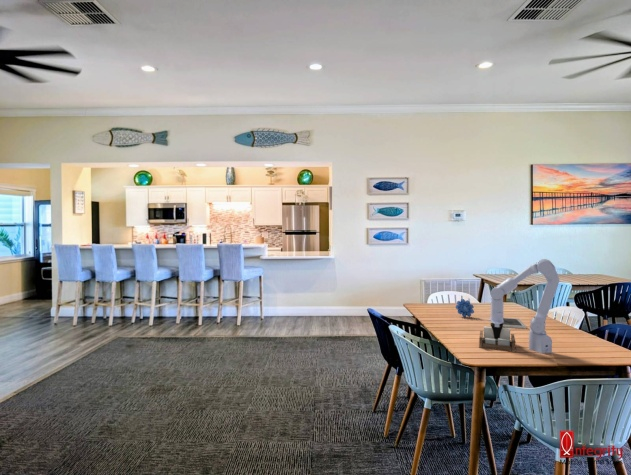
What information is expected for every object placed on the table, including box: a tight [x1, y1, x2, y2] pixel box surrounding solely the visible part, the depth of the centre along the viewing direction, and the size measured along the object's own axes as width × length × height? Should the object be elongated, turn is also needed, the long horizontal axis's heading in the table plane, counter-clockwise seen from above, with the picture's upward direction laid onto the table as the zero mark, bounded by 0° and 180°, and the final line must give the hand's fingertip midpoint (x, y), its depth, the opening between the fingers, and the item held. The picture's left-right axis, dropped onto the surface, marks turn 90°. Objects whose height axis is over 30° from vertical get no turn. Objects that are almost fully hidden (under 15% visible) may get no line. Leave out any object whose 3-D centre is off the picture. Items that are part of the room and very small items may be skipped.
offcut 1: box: [485, 338, 495, 344], centre depth 194 cm, size 2×4×4 cm, turn 66°
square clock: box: [503, 317, 527, 330], centre depth 245 cm, size 16×3×21 cm
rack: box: [478, 330, 516, 353], centre depth 201 cm, size 24×16×6 cm, turn 156°
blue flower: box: [455, 298, 475, 318], centre depth 263 cm, size 12×7×12 cm, turn 78°
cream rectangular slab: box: [483, 326, 511, 341], centre depth 200 cm, size 2×12×8 cm, turn 66°
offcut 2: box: [498, 338, 511, 346], centre depth 192 cm, size 2×5×4 cm, turn 66°
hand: (496, 338), depth 200 cm, fingers closed on cream rectangular slab, 2 cm apart
